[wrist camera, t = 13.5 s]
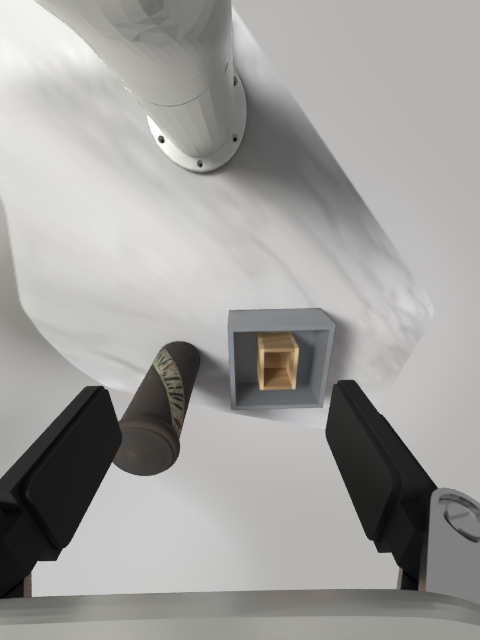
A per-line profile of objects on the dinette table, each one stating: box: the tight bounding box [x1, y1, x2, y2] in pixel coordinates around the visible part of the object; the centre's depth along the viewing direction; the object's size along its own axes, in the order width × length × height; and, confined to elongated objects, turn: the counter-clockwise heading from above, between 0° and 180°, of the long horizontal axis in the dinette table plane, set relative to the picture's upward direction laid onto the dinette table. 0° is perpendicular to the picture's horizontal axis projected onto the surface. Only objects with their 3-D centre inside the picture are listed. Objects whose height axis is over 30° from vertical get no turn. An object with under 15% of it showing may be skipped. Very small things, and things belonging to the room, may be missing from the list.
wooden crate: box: [257, 331, 299, 390], centre depth 40 cm, size 8×6×6 cm
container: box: [112, 342, 200, 476], centre depth 35 cm, size 9×9×20 cm
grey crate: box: [228, 308, 336, 410], centre depth 40 cm, size 16×16×7 cm
